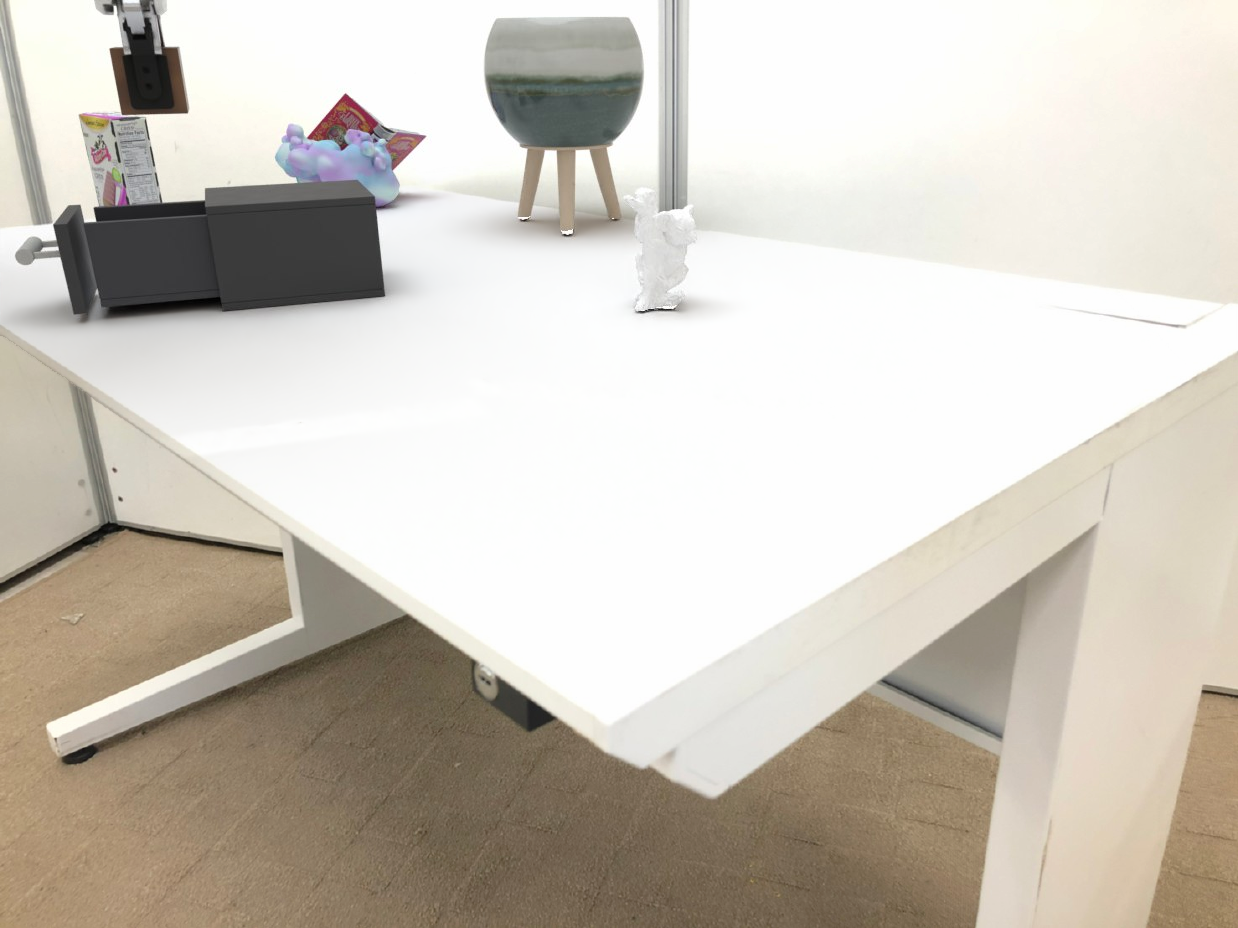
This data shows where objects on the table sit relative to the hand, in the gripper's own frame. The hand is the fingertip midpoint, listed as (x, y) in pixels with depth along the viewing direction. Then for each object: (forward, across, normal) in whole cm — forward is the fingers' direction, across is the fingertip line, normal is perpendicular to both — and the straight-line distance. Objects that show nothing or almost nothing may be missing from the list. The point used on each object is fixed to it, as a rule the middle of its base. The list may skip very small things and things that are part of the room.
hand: (155, 104), depth 83 cm
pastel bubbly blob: (+21, -78, +23) cm, 84 cm away
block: (+1, 0, 0) cm, 1 cm away
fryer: (+21, -19, +10) cm, 30 cm away
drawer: (+20, -19, -6) cm, 28 cm away
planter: (+21, -45, +50) cm, 71 cm away
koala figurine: (+21, +3, +45) cm, 49 cm away
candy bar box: (+22, -60, -9) cm, 64 cm away
